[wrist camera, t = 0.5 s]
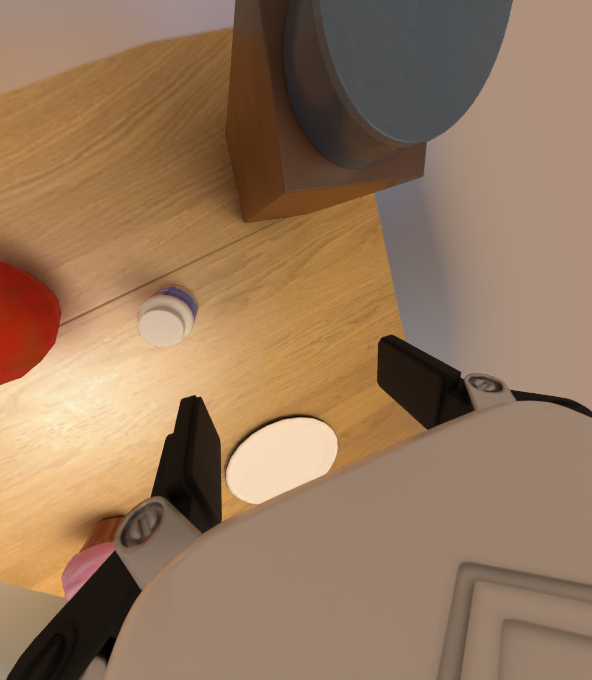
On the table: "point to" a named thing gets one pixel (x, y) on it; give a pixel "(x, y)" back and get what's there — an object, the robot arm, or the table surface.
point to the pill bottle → (167, 316)
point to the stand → (286, 131)
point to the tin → (386, 70)
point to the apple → (24, 322)
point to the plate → (281, 458)
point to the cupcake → (90, 556)
